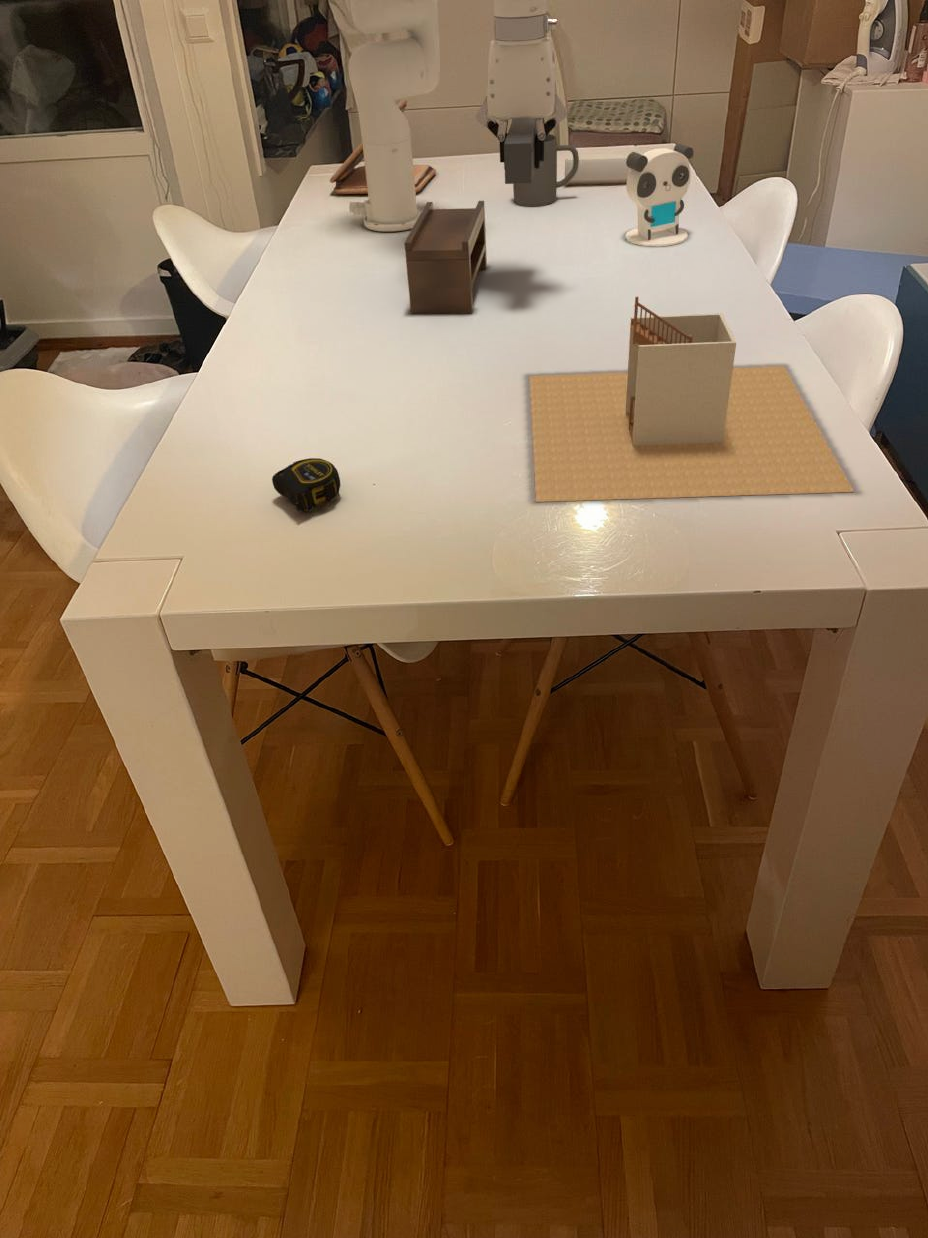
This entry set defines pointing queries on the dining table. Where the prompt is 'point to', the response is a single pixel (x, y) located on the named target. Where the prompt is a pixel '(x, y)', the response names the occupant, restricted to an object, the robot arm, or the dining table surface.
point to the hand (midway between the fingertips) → (522, 165)
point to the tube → (598, 171)
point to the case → (355, 178)
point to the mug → (545, 176)
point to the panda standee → (658, 194)
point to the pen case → (520, 151)
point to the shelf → (445, 259)
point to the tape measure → (308, 483)
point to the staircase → (677, 423)
